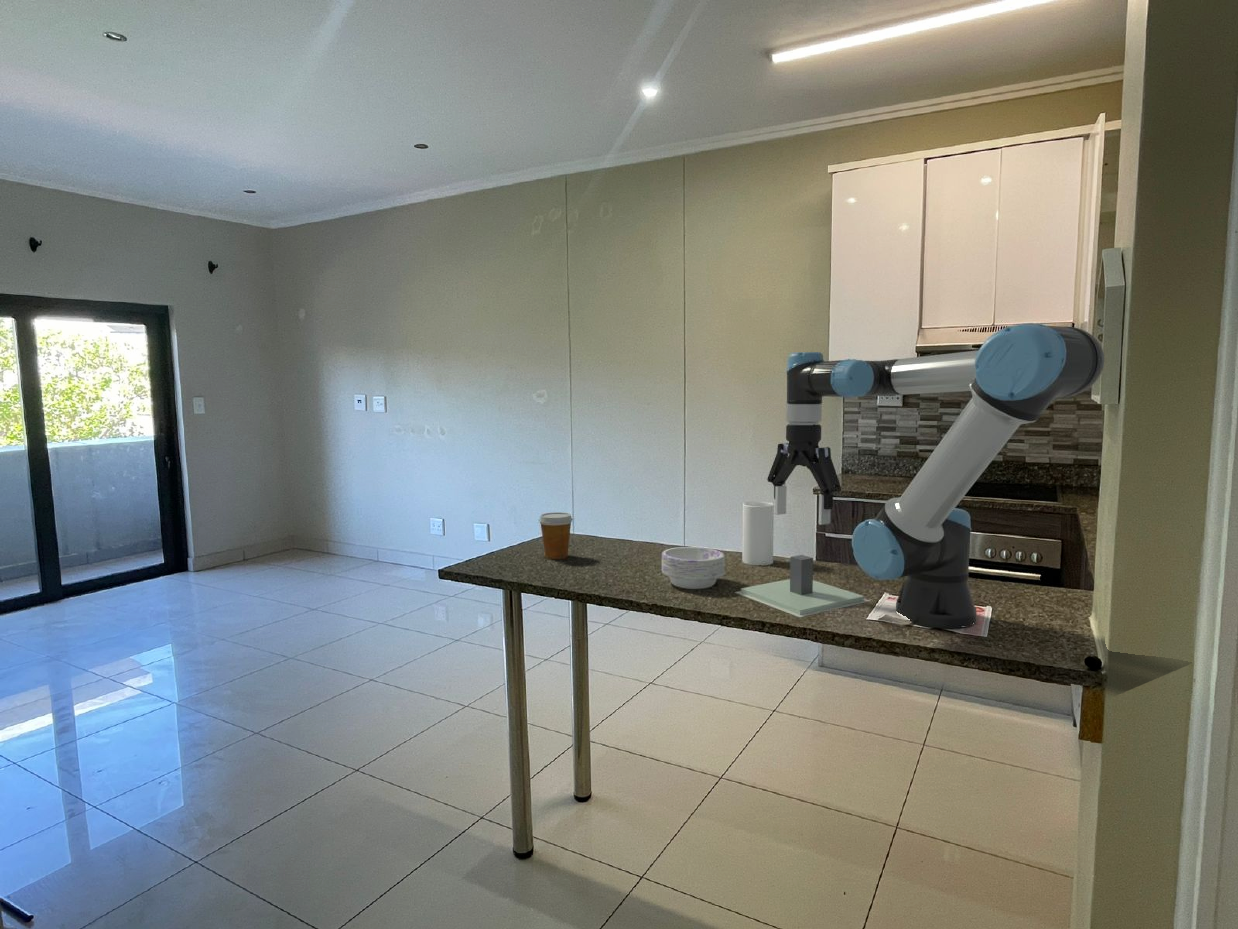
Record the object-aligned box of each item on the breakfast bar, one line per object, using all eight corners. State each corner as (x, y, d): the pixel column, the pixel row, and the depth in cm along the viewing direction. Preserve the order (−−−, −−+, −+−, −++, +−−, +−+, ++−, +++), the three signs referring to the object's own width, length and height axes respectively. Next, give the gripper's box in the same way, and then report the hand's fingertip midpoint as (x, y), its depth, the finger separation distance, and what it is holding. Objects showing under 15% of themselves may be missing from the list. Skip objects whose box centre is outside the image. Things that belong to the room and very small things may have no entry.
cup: (775, 565, 190) (776, 506, 188) (744, 565, 190) (745, 506, 188) (769, 558, 198) (770, 501, 196) (740, 558, 198) (740, 501, 197)
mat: (870, 602, 157) (870, 601, 157) (799, 619, 146) (799, 617, 146) (802, 580, 175) (802, 579, 175) (734, 594, 164) (734, 592, 164)
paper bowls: (735, 582, 175) (735, 550, 174) (706, 597, 162) (706, 563, 161) (681, 573, 183) (680, 543, 182) (649, 587, 171) (649, 555, 170)
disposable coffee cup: (539, 553, 207) (538, 512, 206) (572, 552, 208) (571, 511, 207) (539, 561, 198) (538, 518, 196) (574, 560, 199) (573, 517, 197)
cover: (864, 600, 157) (865, 560, 156) (799, 615, 148) (800, 572, 147) (802, 580, 173) (802, 544, 172) (740, 592, 164) (741, 554, 163)
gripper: (860, 425, 147) (857, 526, 150) (777, 420, 169) (776, 508, 171) (834, 426, 144) (831, 530, 146) (753, 421, 165) (751, 511, 168)
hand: (801, 519), depth 159 cm, fingers open, 13 cm apart
